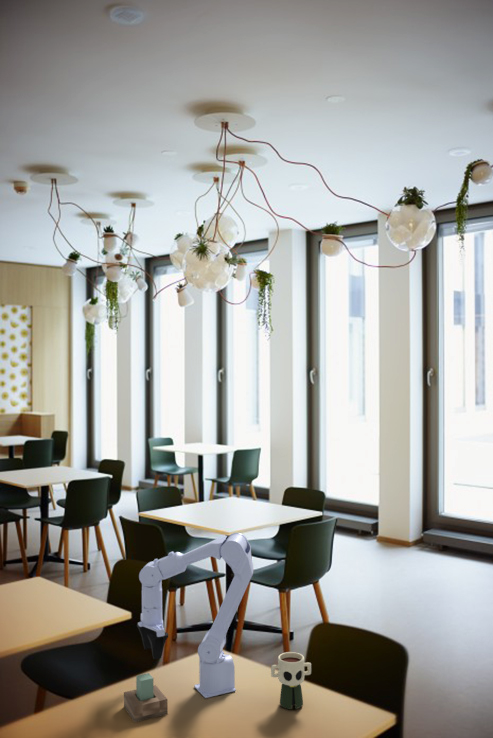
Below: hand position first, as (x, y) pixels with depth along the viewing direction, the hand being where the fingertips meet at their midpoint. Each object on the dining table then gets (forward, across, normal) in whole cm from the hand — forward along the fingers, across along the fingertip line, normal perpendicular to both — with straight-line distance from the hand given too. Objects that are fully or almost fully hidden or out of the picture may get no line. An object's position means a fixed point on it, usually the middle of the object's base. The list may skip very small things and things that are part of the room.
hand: (152, 653), depth 206 cm
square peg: (+8, +12, -7) cm, 16 cm away
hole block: (+9, +12, -6) cm, 17 cm away
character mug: (+10, +28, +29) cm, 41 cm away
